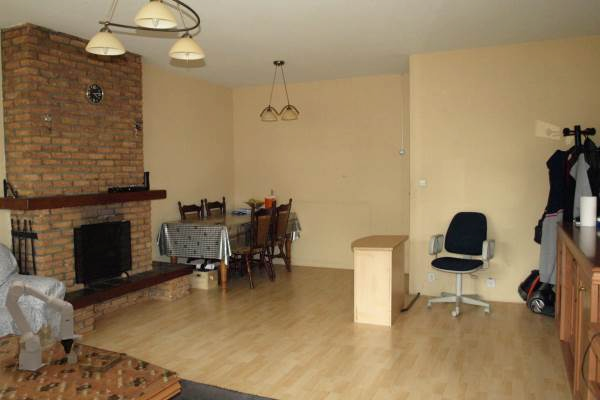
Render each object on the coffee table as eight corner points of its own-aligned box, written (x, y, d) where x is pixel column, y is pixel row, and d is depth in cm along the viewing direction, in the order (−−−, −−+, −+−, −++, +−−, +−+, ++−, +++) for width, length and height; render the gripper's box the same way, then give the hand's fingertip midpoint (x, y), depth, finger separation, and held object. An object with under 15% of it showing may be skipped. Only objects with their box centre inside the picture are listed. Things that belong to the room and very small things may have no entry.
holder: (79, 369, 232) (78, 364, 232) (98, 357, 247) (98, 353, 247) (103, 372, 229) (103, 367, 229) (122, 360, 244) (121, 355, 244)
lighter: (69, 365, 238) (69, 349, 237) (67, 364, 239) (67, 348, 238) (82, 360, 243) (82, 345, 243) (80, 359, 244) (80, 344, 244)
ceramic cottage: (60, 341, 270) (57, 316, 269) (44, 353, 254) (41, 326, 253) (33, 342, 271) (30, 317, 269) (15, 354, 254) (12, 328, 253)
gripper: (49, 329, 237) (49, 355, 238) (77, 329, 237) (78, 356, 238) (56, 325, 244) (57, 350, 245) (84, 325, 244) (84, 351, 245)
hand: (67, 353), depth 242 cm, fingers closed
